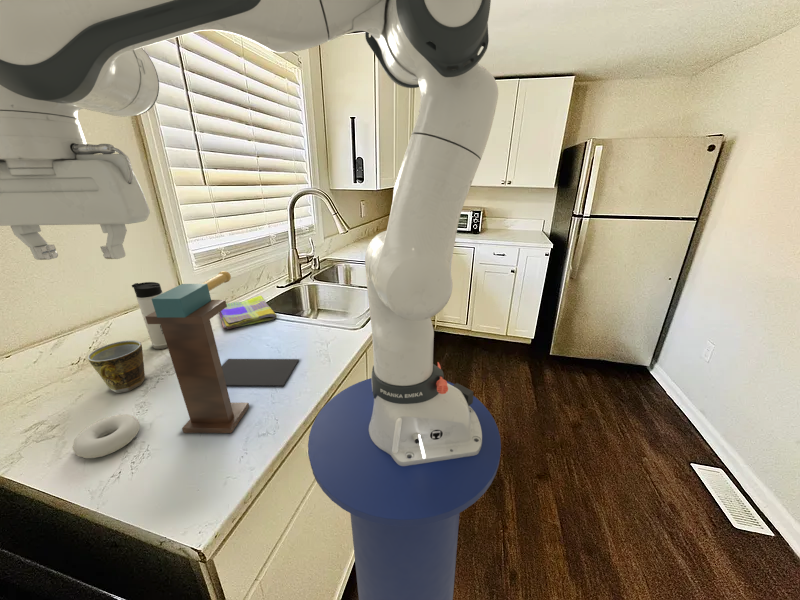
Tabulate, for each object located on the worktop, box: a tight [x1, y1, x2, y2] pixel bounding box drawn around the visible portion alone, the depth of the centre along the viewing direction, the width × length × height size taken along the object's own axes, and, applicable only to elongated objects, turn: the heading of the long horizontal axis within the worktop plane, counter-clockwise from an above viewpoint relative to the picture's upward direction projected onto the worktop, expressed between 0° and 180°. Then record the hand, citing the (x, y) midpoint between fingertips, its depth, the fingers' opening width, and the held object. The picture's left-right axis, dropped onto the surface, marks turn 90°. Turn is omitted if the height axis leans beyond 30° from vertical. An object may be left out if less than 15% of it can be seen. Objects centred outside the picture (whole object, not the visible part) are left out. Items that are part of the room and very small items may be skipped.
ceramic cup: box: [87, 339, 146, 394], centre depth 78 cm, size 13×10×10 cm
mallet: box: [152, 270, 232, 318], centre depth 64 cm, size 5×19×4 cm, turn 178°
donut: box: [72, 413, 141, 459], centre depth 64 cm, size 10×4×10 cm
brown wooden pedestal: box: [145, 299, 250, 434], centre depth 65 cm, size 10×8×26 cm
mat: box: [221, 358, 299, 388], centre depth 86 cm, size 20×12×1 cm, turn 88°
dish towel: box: [219, 295, 278, 330], centre depth 121 cm, size 18×24×3 cm
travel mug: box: [131, 281, 168, 350], centre depth 97 cm, size 6×7×20 cm
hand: (81, 258), depth 44 cm, fingers open, 8 cm apart
